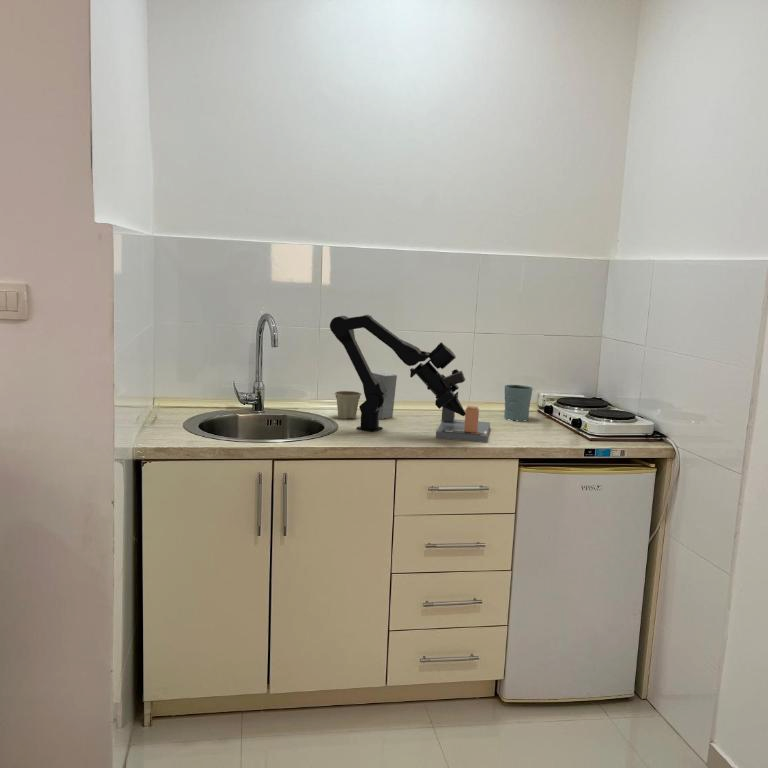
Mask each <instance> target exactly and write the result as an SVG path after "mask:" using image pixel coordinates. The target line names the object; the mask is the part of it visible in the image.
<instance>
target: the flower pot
mask: <svg viewBox="0 0 768 768" xmlns="http://www.w3.org/2000/svg"><path fill="white" fill-rule="evenodd" d="M334 395H335V398H336V405H337V417H338V418H340V419H343V418H344V419H345V420H347V419H350V420H352V419H351V418H353V419H355V417H357V412H358V408H359V407H358V406H359V402H360V399H361V396H362V393H361V392H359V391H354V390H353V391H352V390H338V391H334Z"/></svg>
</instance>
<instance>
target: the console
mask: <svg viewBox="0 0 768 768" xmlns="http://www.w3.org/2000/svg"><path fill="white" fill-rule="evenodd" d="M464 427H465V419H455V418H454V421H443V420H442V419H440V423H439V425H438V427H437V429H436V431H435V439H445V440H453V441H456V440H457V441H467V442H476V441H481V442H480V443H487V440H488V436H489V432H490V428H491V422H490V421H479V420H478V430H477V432H467V431H464Z"/></svg>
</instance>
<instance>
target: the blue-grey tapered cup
mask: <svg viewBox="0 0 768 768" xmlns="http://www.w3.org/2000/svg"><path fill="white" fill-rule="evenodd" d="M532 394H533V386H528V385H522V384H506V385H504V412H503V413H504V415H503V416H504V419H505V418H506V419H505V420H507V419H510V420H518V421H517V422H524V421H523V420H527V421H528V420H529V417H530V407H531V400H532ZM510 420H509V421H510Z"/></svg>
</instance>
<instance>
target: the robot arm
mask: <svg viewBox="0 0 768 768" xmlns="http://www.w3.org/2000/svg"><path fill="white" fill-rule="evenodd" d="M329 328H330V331H331V332H332V334H333V336H335V338H336V339H337V340H338V341H339V342H340V343H341V345H342V346H343V347H344V349H345V351H346V353H347V355H348V357H349V360H350V362H351V363H352V366H353V367H354V370H355V371H356V373H357V375H358V377H359V380H360V381H361V383H362V389H363V394H364V397H365V401H363V402H362V403H361V404H360V405H358V406H359V407H358V408H359V410H360V426H357V427H356V430H362V431H366V432H373V433H374V432H376V431H379V430H382V429H383V427H382V426H380V419H379V410H378V409H380V407H381V406H382V405H383V404H384V403H385V402H386V400H387V393H386V392H388V391H387V390H386V388H385V387H384V384H383V381H380V382H378V381H377V380H376V379H375V378H374V376H373V374H372V372H373V371H372V370H371V368H370V366H369V364H368V362H367V360H366V358H365V356H364V355H363V353H362V350H361V348H360V346H359V344H358V342H357V340H356V335H355V330H357V329H363V328H364V329H365V330H366V331H368V332H370V333H371V335H373V336H374V337H376V339H378V340H379V341H381V342H382V343H384V344H385V345H386V346H388V347H389V348H391V350H392V351H393V352H394V353H395V355H396V356H397V357H398V359H400V360H401V362H402V363H404V365H406V366H408V367H412V366H415V368H413V367H412V368H410V369H409V371H410V374H409V377H410V378H413V377H415V375H416V376H417V377H418V378H419V379H420V380H421V381H422V382H423V384H424V385H425V386H426V389H427V390H428V391H431V392H432V394H433V395H434V396H435V404H434V405H435V406H436V407H437V408H438V409H439V410H440V409H442V407H444V408H447V409H449V410H451V411H453V412H455V414H457V415H460V416H461V417H465V412H466V410H465V409H464V408H463V405H462V403H461V402H460V400H459V391H457V390H459V386H458V384H461V383H464V382H465V381H466V378H465V376H464V373H463V370H458V369H457V368H455V369H453V370H451V374H450V375H447V376H445V375H444V374H441V373H440V372H439V369H441V370H444V369H445V368H446V367H447V366H448V365H449V364H450V363H451V362H453V361H454V360H455V359H456V358H457V356H456V354H455V353H454V352H453V351H452V349H451V348H449V347H448V346H447V345H445V344H444V343H443V342H439V344H438V345H437V346H436V347H435V348H434V349H433V350H431V351H430V352H429V351H423V350H421V349H420V348H419V347H418V346H415V345H413V344H412V343H409V342H408V341H404V340H403V339H401V338H399V337H398V336H397V335H395V334H394V332H392V331H390V330H389V329H388V328H387V327H385V326H384V325H382V324H381V323H380V322H378V321H377V320H376V319H374V317H373V316H372V315H369V314H364V315H360V316H353V317H348V316H346V315H339V316H336V317H334V318H332V319H331V321H330V323H329ZM426 360H427V361H426ZM425 361H426V362H425ZM422 362H425V363H422ZM418 363H419V364H418ZM417 364H418V365H417ZM456 391H457V392H456ZM454 392H456V393H454Z"/></svg>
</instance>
